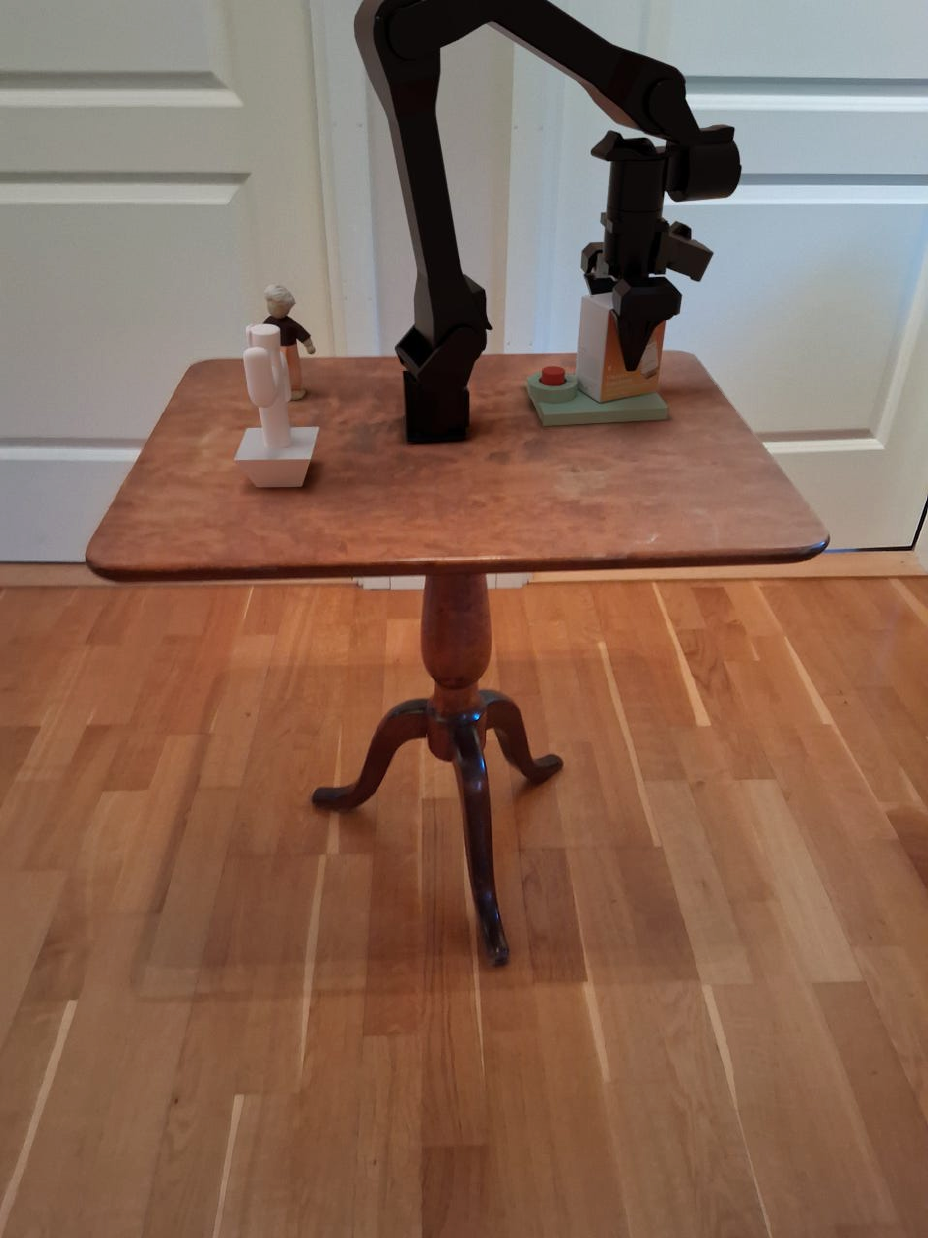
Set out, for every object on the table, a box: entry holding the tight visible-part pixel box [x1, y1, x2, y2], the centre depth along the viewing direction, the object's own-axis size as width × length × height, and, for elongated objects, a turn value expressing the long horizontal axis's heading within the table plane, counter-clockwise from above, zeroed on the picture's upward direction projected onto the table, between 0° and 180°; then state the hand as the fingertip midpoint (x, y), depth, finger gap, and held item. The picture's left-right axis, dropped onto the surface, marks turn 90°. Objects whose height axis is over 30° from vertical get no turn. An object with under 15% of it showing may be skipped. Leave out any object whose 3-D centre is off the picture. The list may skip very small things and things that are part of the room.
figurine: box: [233, 323, 320, 488], centre depth 85 cm, size 7×9×15 cm
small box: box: [574, 292, 667, 403], centre depth 100 cm, size 8×6×10 cm
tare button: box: [541, 365, 566, 386], centre depth 101 cm, size 3×3×2 cm
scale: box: [525, 371, 669, 427], centre depth 103 cm, size 15×11×3 cm
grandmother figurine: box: [261, 284, 317, 401], centre depth 102 cm, size 8×4×13 cm, turn 77°
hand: (619, 355), depth 100 cm, fingers open, 9 cm apart
